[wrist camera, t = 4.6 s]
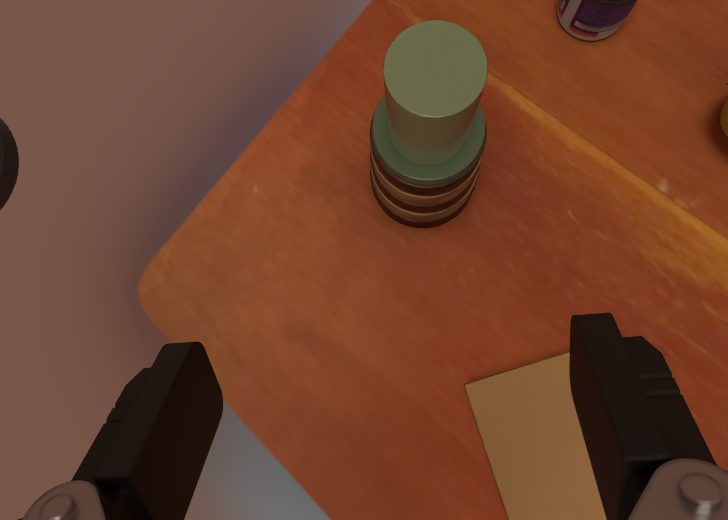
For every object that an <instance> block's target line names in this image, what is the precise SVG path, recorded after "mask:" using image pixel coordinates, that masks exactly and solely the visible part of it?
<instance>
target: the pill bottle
mask: <svg viewBox="0 0 728 520" xmlns="http://www.w3.org/2000/svg"><path fill="white" fill-rule="evenodd" d="M636 1H637V0H558V4H557V15H558V18H559V21H560V23H561V25H562V26H563V28H564V29H565V30H566V31H567V32H568V33H570V34H571V35H573V36H575V37H577V38H579V39H583V40H589V41H593V40H600V39H603V38H606V37H608V36H610V35H611V34H613V33H614V32H615V31H616V30H617V29H618V28H619V27H620V26H621V24H622V23H623V21H624V20H625V18H626V17H627V15H628V14H629V12H630V10H631V9H632V7H633V6H634V4H635V3H636Z"/></svg>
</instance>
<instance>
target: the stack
mask: <svg viewBox="0 0 728 520" xmlns="http://www.w3.org/2000/svg"><path fill="white" fill-rule="evenodd" d="M374 113H375V112H374ZM373 117H374V115H373ZM372 127H373V118H372V121H371V127H370V167H371V170H370V175H371V182H372V188H373V192H374V195H375V197H376V200H377V201H378V203H379V205H380V206H381V208H382V209H383V210H384V211H385V212H386V213H387V214H388V215H389V216H390V217H391V218H393V219H394V220H396V221H398V222H399V223H402V224H404V225H407V226H411V227H417V228H428V227H434V226H438V225H441V224H444V223H446V222H448V221H450V220H451V219H453V218H454V217H455V216H457V215H458V214H459V213H460V212H461V211H462V210H463V208H464V207H465V206H466V204H467V202H468V201H469V199H470V196H471V194H472V192H473V189H474V187H475V183H476V179H477V175H478V170H479V167H480V162H481V158H482V155H483V150H484V146H485V142H486V124H485V135H484V140H483V143H482V146H481V149H480V151H479V153H478V156H477V157H476V159H475V161H474V162H473V163H472V164H471V166H470V167H469V168H468V169H467V170H466V171H465V172H463V173H462V174H461V175H459V176H458V177H456V178H454V179H452V180H450V181H447V182H444V183H440V184H433V185H422V184H415V183H412V182H409V181H406V180H404V179H402V178H400V177H398V176H396V175H395V174H394V173H392V172H391V171H390V170H389V169H388V168H387V167H386V166H385V165H384V163H383V162H382V161H381V159H380V157H379V155H378V153H377V151H376V148H375V144H374V139H373V130H372Z"/></svg>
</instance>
